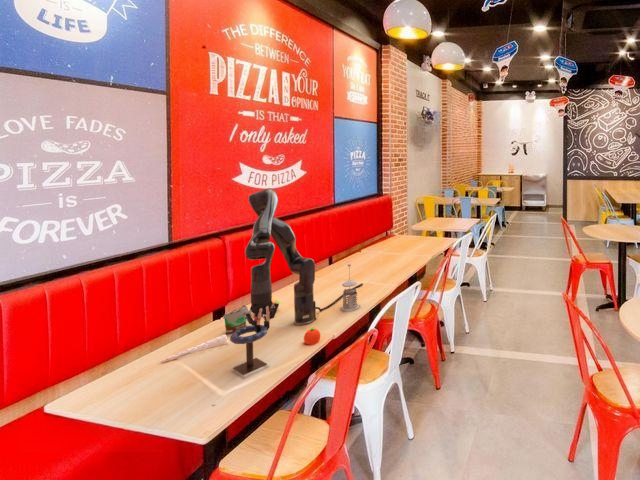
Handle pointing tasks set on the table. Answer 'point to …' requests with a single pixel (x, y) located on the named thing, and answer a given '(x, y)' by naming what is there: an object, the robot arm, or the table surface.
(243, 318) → the food container
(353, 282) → the french press
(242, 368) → the peg stand
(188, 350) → the unicorn horn
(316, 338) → the clementine
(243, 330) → the ring
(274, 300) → the hamburger
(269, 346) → the table surface
